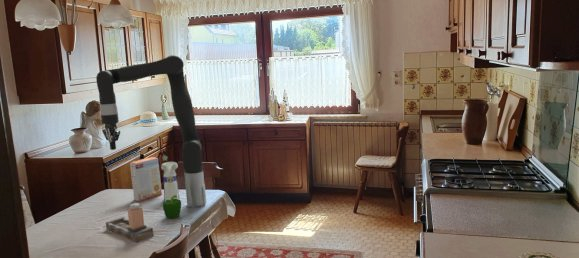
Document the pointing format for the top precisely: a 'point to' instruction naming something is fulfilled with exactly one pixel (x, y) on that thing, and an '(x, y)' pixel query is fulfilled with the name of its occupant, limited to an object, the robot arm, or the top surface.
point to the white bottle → (170, 179)
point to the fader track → (121, 229)
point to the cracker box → (145, 178)
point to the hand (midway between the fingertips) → (113, 149)
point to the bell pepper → (172, 207)
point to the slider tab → (136, 218)
